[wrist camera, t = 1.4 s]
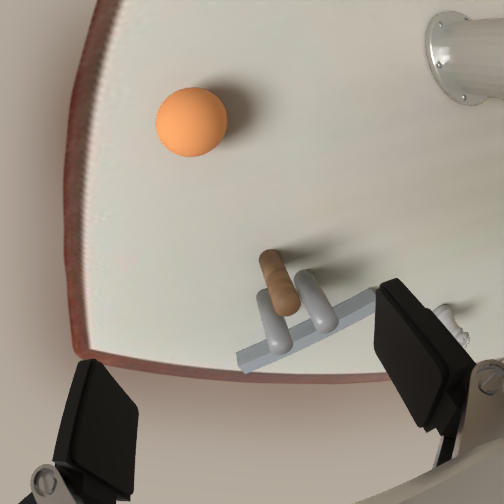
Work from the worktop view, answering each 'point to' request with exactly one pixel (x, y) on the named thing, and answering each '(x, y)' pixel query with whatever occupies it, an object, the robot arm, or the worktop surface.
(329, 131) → the worktop surface
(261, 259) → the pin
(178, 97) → the ball
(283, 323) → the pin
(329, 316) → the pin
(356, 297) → the grey rectangular bar
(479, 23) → the robot arm
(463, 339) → the rook chess piece
